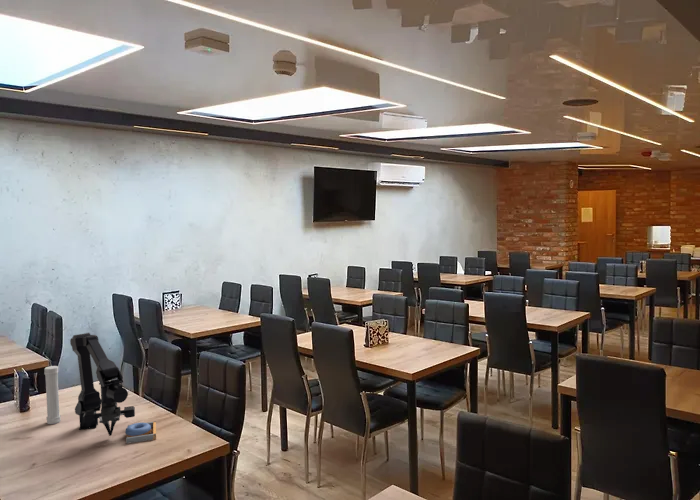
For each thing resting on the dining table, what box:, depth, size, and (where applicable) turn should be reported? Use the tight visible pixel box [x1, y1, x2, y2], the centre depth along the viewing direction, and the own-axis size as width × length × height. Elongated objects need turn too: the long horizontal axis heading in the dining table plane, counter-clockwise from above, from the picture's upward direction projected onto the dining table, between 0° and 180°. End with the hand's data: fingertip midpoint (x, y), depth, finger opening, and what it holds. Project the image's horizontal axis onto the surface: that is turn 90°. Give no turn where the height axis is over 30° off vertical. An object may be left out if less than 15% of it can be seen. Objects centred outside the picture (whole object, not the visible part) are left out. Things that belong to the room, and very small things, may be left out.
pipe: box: [43, 355, 62, 425], centre depth 236 cm, size 6×6×30 cm
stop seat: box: [125, 421, 157, 444], centre depth 222 cm, size 11×15×2 cm
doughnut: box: [124, 422, 152, 438], centre depth 222 cm, size 10×10×5 cm
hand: (110, 435), depth 218 cm, fingers closed
